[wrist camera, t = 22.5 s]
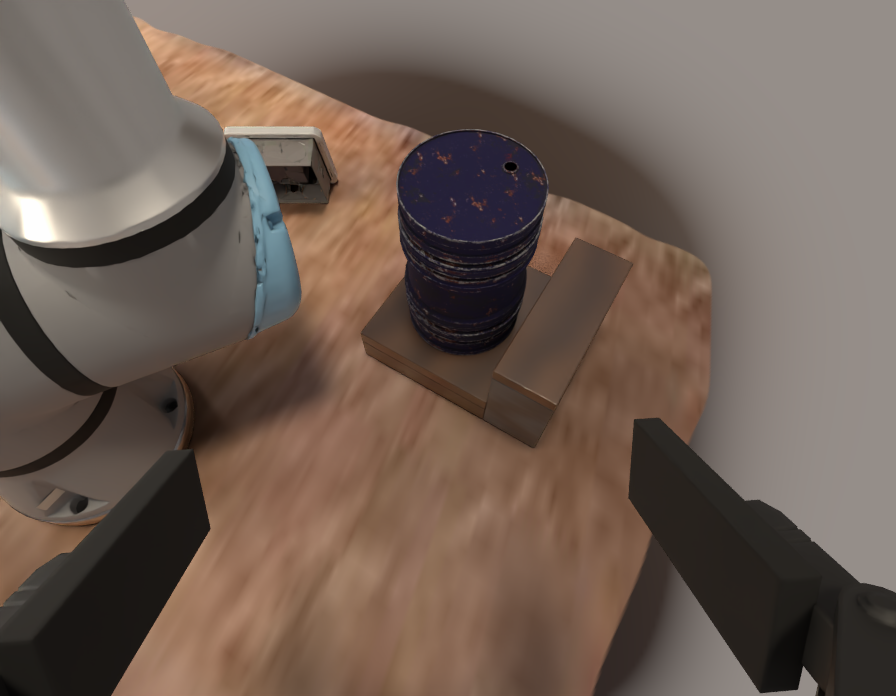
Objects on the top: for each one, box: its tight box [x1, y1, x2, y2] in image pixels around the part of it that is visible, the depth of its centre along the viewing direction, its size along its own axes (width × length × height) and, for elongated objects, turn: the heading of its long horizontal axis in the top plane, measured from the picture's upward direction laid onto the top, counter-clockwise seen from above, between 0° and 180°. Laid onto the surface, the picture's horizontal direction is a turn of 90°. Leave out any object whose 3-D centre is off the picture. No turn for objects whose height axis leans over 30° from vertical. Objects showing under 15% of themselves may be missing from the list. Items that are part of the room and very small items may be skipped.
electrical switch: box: [224, 126, 338, 203], centre depth 53 cm, size 9×5×9 cm, turn 90°
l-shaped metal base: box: [361, 238, 633, 448], centre depth 44 cm, size 18×14×10 cm
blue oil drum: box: [396, 129, 549, 355], centre depth 39 cm, size 10×10×15 cm
